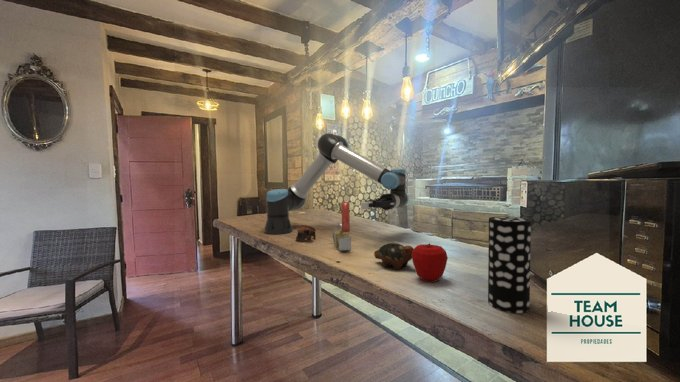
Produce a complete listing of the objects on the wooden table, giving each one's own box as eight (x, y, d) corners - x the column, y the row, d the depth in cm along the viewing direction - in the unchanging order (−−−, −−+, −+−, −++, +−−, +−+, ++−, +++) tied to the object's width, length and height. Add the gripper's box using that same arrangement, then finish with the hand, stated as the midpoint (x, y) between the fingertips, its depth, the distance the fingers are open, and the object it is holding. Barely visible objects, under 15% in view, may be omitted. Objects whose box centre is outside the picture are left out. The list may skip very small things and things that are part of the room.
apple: (450, 277, 86) (450, 240, 86) (443, 288, 78) (443, 248, 77) (416, 272, 91) (416, 237, 91) (407, 281, 83) (407, 244, 82)
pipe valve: (332, 242, 134) (331, 224, 133) (344, 241, 135) (343, 223, 134) (338, 253, 115) (337, 232, 115) (352, 252, 116) (351, 231, 115)
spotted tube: (514, 296, 72) (515, 216, 71) (538, 312, 63) (540, 221, 62) (481, 297, 71) (481, 216, 70) (501, 314, 63) (502, 222, 62)
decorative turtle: (410, 274, 89) (408, 248, 89) (368, 269, 98) (365, 245, 98) (422, 264, 97) (420, 241, 96) (382, 260, 106) (380, 238, 106)
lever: (337, 226, 125) (336, 200, 125) (344, 225, 126) (343, 200, 125) (342, 233, 110) (342, 203, 110) (350, 232, 111) (350, 203, 110)
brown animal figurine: (291, 241, 140) (296, 225, 143) (307, 247, 144) (312, 231, 147) (302, 239, 130) (307, 222, 134) (319, 245, 134) (324, 229, 138)
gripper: (401, 210, 135) (376, 216, 116) (377, 208, 143) (349, 213, 124) (401, 194, 135) (376, 197, 116) (377, 193, 143) (349, 196, 124)
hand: (362, 206), depth 120 cm, fingers closed
